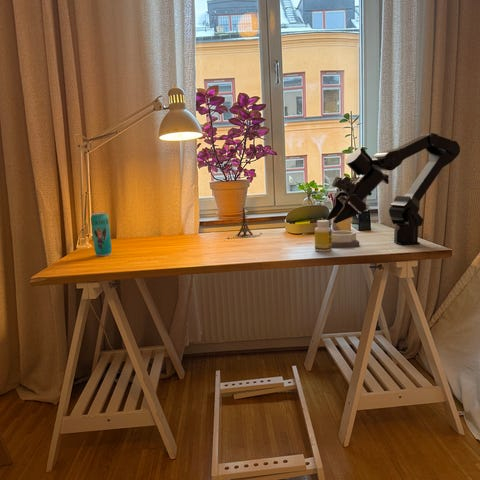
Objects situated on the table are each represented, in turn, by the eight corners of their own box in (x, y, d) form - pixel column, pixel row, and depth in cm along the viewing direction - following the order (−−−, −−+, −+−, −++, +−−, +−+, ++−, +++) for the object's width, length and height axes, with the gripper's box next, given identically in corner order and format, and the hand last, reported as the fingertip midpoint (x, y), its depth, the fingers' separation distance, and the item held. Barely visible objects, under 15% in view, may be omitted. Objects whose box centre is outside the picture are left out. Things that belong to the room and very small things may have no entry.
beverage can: (94, 257, 137) (89, 214, 134) (95, 254, 142) (90, 213, 139) (112, 255, 138) (107, 213, 136) (112, 252, 144) (107, 211, 141)
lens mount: (351, 240, 142) (351, 229, 141) (359, 246, 133) (359, 234, 132) (325, 242, 142) (325, 231, 142) (330, 247, 133) (330, 235, 132)
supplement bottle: (331, 252, 126) (331, 221, 124) (314, 252, 127) (314, 222, 126) (331, 248, 131) (331, 219, 130) (315, 248, 132) (314, 219, 131)
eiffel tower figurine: (226, 240, 160) (224, 207, 158) (227, 235, 170) (225, 205, 168) (263, 238, 160) (261, 205, 158) (261, 234, 170) (260, 203, 168)
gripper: (340, 167, 133) (308, 201, 136) (355, 167, 115) (318, 206, 117) (363, 189, 135) (331, 223, 137) (382, 193, 116) (344, 231, 119)
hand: (331, 220), depth 127 cm, fingers open, 9 cm apart
